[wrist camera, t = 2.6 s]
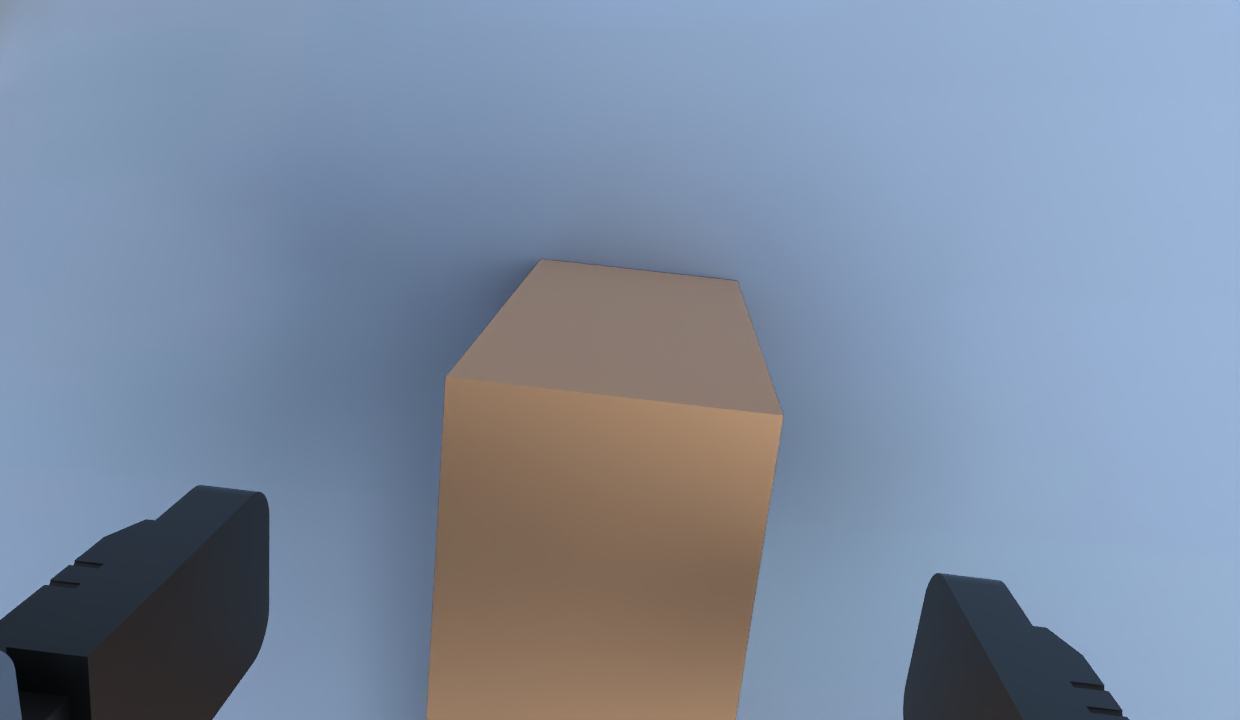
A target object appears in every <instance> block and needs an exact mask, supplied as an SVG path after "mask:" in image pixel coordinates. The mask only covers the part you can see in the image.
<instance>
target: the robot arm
mask: <svg viewBox="0 0 1240 720" xmlns="http://www.w3.org/2000/svg"><path fill="white" fill-rule="evenodd" d="M268 615H269V507H268V502H267V499H266V497H265V495H264V494H263V493H261V492H255V491H246V490H238V489H229V488H221V487H212V486H204V485H199V486H196V487H195V488H193V489H192V490H191V491H189V492H188V493H187V494H186V495H185V496H184V497H182V498H181V499H180V500H179V501H178V502H176V503H175V504H174V505H173V506H172V507H171V508H169V509H168V510H167V511H166V512H165V513H163V514H162V515H161V516H160V517H159V518H158V519H156V520H155V521H154V520H144V521H141V522H139V523H136V524H134V525H132V526H129V527H127V528H125V529H122V530H120V531H118V532H115V533H113V534H110V535H108V536H106V537H104V538H102V539H101V540H100V541H99V542H97V543H96V544H95V545H94V546H92V547H91V548H90V549H89V550H87V551H86V552H85V553H84V554H82V555H81V556H80V557H79V558H77V559H76V560H75V563H74V566H72V565H69V566H67V567H66V568H65V569H64V570H62V571H61V572H60V573H59V574H57V575H56V576H55V577H54V578H52V579H51V581H50V585H44V586H42V587H41V588H40V589H39V590H37V591H36V592H35V593H34V594H32V595H31V596H30V597H29V598H27V599H26V600H25V601H24V602H22V603H21V604H20V605H19V606H17V607H16V608H15V609H14V610H12V611H11V612H10V613H9V614H7V615H6V616H5V617H4V618H2V619H1V620H0V720H212V719H213V718H214V716H215V715H216V714H217V712H218V711H219V709H220V708H221V707H222V705H223V704H224V703H225V701H226V700H227V698H228V697H229V696H230V694H231V693H232V691H233V690H234V689H235V687H236V686H237V684H238V683H239V682H240V680H241V679H242V678H243V676H244V675H245V673H246V672H247V671H248V669H249V668H250V666H251V665H252V664H253V662H254V661H255V659H256V657H257V655H258V653H259V651H260V648H261V645H262V643H263V640H264V636H265V632H266V628H267V622H268ZM903 717H904V720H1129V719H1128V718H1127V717H1123V716H1122V709H1121V708H1120V706H1119V705H1118V704H1117V702H1116V701H1115V699H1114V698H1113V697H1112V695H1111V694H1110V693H1109V691H1104V684H1103V683H1102V681H1101V680H1100V679H1099V677H1098V676H1097V675H1096V673H1095V672H1094V670H1093V669H1092V668H1091V666H1090V665H1089V663H1088V662H1087V661H1086V659H1085V658H1084V656H1083V655H1082V654H1080V653H1079V652H1078V651H1076V650H1075V649H1074V648H1072V647H1071V646H1070V645H1068V644H1067V643H1066V642H1064V641H1063V640H1062V639H1060V638H1059V637H1058V636H1057V635H1055V634H1054V633H1053V632H1051V631H1050V630H1049V629H1047V628H1044V627H1036V626H1032V624H1031V623H1030V621H1029V620H1028V618H1027V617H1026V615H1025V614H1024V612H1023V611H1022V609H1021V608H1020V606H1019V605H1018V603H1017V602H1016V600H1015V599H1014V597H1013V596H1012V594H1011V593H1010V591H1009V590H1008V588H1007V587H1006V585H1005V584H1004V583H1003V582H1002V581H999V580H991V579H983V578H974V577H966V576H957V575H949V574H940V573H937V574H935V575H934V576H933V577H932V578H931V580H930V582H929V584H928V587H927V590H926V594H925V598H924V602H923V607H922V612H921V616H920V621H919V626H918V630H917V635H916V639H915V644H914V649H913V653H912V658H911V663H910V667H909V672H908V676H907V681H906V686H905V693H904V704H903Z"/></svg>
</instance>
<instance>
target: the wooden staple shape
mask: <svg viewBox="0 0 1240 720" xmlns="http://www.w3.org/2000/svg"><path fill="white" fill-rule="evenodd" d="M782 422H783V413H782V410H781V407H780V404H779V401H778V398H777V395H776V392H775V390H774V387H773V384H772V381H771V378H770V375H769V372H768V369H767V366H766V363H765V360H764V357H763V354H762V352H761V349H760V346H759V343H758V340H757V337H756V334H755V331H754V328H753V325H752V322H751V319H750V317H749V314H748V311H747V308H746V305H745V302H744V299H743V296H742V293H741V290H740V287H739V284H738V281H734V280H725V279H716V278H707V277H698V276H689V275H680V274H671V273H662V272H653V271H644V270H635V269H627V268H618V267H609V266H600V265H591V264H582V263H573V262H564V261H555V260H546V259H541V260H540V261H539V262H538V263H537V265H536V266H535V267H534V268H533V269H532V271H531V272H530V273H529V274H528V276H527V277H526V278H525V279H524V281H523V282H522V283H521V284H520V286H519V287H518V288H517V289H516V290H515V292H514V293H513V294H512V295H511V297H510V298H509V299H508V300H507V302H506V303H505V304H504V305H503V307H502V308H501V309H500V310H499V312H498V313H497V314H496V315H495V316H494V318H493V319H492V320H491V321H490V323H489V324H488V325H487V326H486V328H485V329H484V330H483V331H482V333H481V334H480V335H479V336H478V337H477V339H476V340H475V341H474V342H473V344H472V345H471V346H470V347H469V349H468V350H467V351H466V352H465V354H464V355H463V356H462V357H461V359H460V360H459V361H458V362H457V363H456V365H455V366H454V367H453V368H452V370H451V371H450V372H449V373H448V375H447V376H446V379H445V397H444V415H443V432H442V450H441V468H440V485H439V503H438V521H437V539H436V556H435V574H434V592H433V610H432V627H431V645H430V663H429V680H428V698H427V716H426V720H736V714H737V708H738V702H739V695H740V689H741V683H742V676H743V670H744V663H745V657H746V651H747V644H748V638H749V632H750V625H751V619H752V613H753V606H754V600H755V593H756V587H757V581H758V574H759V568H760V562H761V555H762V549H763V543H764V536H765V530H766V523H767V517H768V511H769V504H770V498H771V492H772V485H773V479H774V473H775V466H776V460H777V453H778V447H779V441H780V434H781V428H782Z"/></svg>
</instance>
